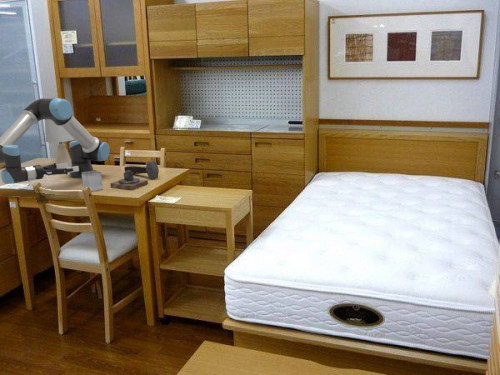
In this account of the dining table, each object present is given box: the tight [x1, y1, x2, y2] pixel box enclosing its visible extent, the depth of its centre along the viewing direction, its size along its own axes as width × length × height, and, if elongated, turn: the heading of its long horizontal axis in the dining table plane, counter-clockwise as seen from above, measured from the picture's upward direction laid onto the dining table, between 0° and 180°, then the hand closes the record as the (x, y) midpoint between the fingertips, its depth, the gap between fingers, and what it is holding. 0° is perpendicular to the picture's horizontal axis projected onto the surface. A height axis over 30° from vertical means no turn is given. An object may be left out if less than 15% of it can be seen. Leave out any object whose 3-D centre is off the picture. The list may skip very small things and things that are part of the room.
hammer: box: [124, 160, 160, 180], centre depth 313 cm, size 5×11×30 cm
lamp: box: [44, 119, 76, 169], centre depth 339 cm, size 19×19×37 cm
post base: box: [110, 170, 149, 191], centre depth 288 cm, size 14×16×9 cm
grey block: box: [81, 169, 104, 192], centre depth 283 cm, size 8×8×10 cm
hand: (73, 166), depth 274 cm, fingers open, 13 cm apart
